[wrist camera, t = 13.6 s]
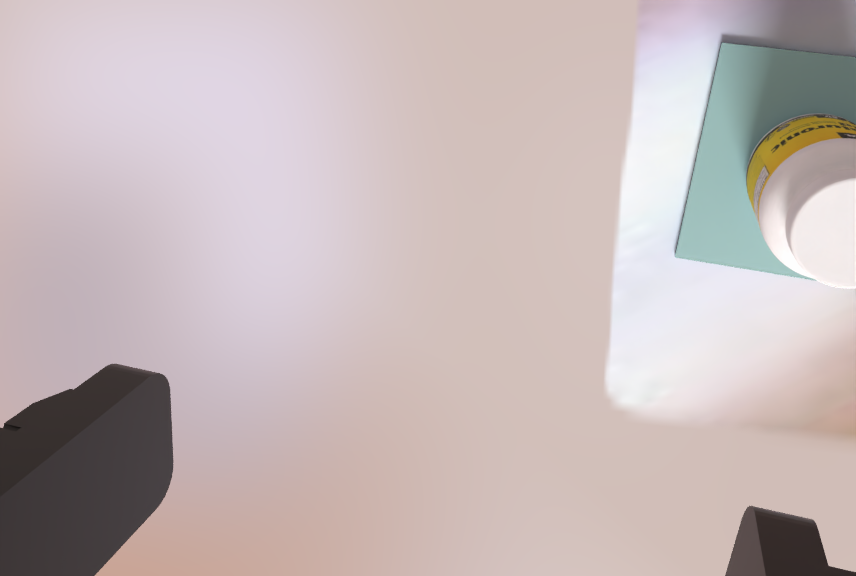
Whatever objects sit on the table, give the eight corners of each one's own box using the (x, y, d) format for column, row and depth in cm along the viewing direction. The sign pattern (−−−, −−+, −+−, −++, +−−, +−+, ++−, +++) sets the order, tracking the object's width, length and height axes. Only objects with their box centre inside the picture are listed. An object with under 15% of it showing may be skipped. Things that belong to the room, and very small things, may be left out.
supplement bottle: (884, 109, 35) (961, 158, 26) (866, 231, 36) (931, 315, 28) (749, 110, 36) (777, 156, 27) (738, 227, 38) (761, 306, 29)
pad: (721, 42, 36) (722, 43, 35) (920, 64, 34) (922, 65, 34) (675, 255, 39) (675, 257, 39) (851, 284, 38) (852, 286, 37)
